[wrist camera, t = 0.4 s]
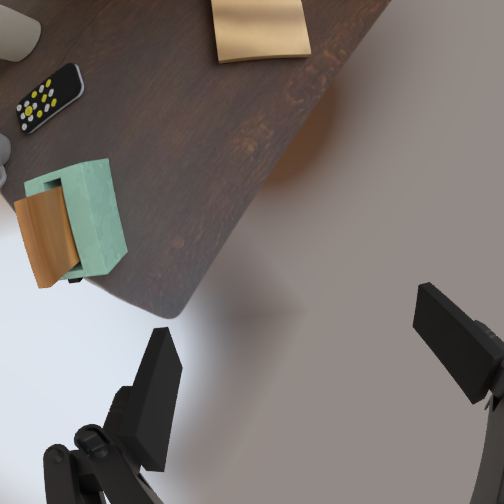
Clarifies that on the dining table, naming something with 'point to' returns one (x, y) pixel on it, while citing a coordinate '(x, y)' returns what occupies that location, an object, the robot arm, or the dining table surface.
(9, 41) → the travel mug
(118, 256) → the toaster
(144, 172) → the dining table surface
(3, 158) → the mug
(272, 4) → the board
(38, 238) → the toast
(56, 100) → the remote control
